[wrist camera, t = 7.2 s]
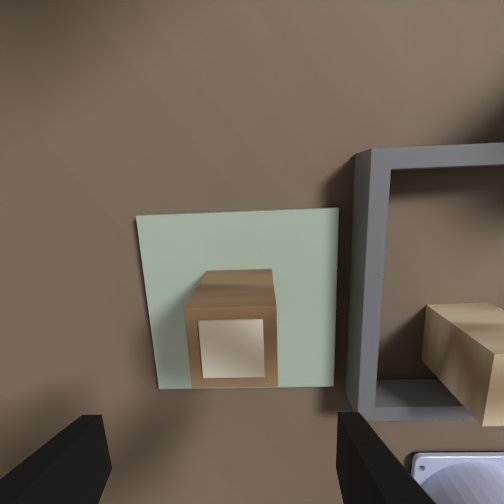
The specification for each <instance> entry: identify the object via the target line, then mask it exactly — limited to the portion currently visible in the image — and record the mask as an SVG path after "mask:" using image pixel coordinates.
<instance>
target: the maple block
mask: <svg viewBox="0 0 504 504" xmlns="http://www.w3.org/2000/svg"><path fill="white" fill-rule="evenodd" d="M421 360H422V361H423V362H424V363H425V364H426V366H427V367H428V368H429V369H430V370H431V371H432V372H433V373H434V374H435V375H436V376H437V377H438V379H439V380H440V381H441V382H442V383H443V384H444V385H445V386H446V387H447V388H448V389H449V391H450V392H451V393H452V394H453V395H454V396H455V397H456V398H457V399H458V400H459V401H460V403H461V404H462V405H463V406H464V407H465V408H466V409H467V410H468V411H469V412H470V413H471V414H472V416H473V417H474V418H475V419H476V420H477V421H478V422H479V423H480V424H481V425H482V426H504V310H503V309H501V308H499V307H497V306H495V305H493V304H491V303H473V304H438V305H427V306H426V316H425V325H424V335H423V344H422V354H421Z"/></svg>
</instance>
